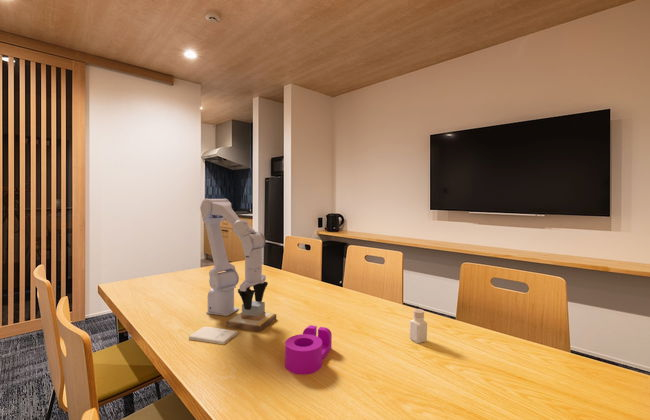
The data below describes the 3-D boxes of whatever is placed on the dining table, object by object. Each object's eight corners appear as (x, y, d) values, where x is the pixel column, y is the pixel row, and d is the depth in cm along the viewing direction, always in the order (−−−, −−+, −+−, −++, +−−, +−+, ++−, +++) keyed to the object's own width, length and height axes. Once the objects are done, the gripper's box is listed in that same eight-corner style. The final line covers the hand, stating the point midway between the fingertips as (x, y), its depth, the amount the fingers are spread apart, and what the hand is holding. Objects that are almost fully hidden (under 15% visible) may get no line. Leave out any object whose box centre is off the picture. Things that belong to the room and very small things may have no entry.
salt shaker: (417, 344, 98) (418, 314, 98) (408, 339, 102) (409, 309, 101) (427, 341, 100) (428, 311, 100) (418, 336, 104) (419, 307, 103)
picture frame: (226, 326, 110) (226, 321, 110) (245, 314, 121) (245, 309, 121) (260, 331, 106) (260, 325, 106) (276, 318, 118) (276, 313, 117)
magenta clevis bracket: (313, 378, 80) (314, 353, 80) (278, 370, 83) (278, 347, 83) (333, 349, 95) (334, 328, 95) (303, 344, 98) (303, 324, 98)
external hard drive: (205, 330, 108) (238, 335, 105) (188, 341, 100) (223, 346, 97) (204, 325, 108) (238, 330, 105) (188, 336, 100) (223, 341, 97)
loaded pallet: (241, 318, 112) (241, 304, 112) (248, 313, 117) (248, 300, 116) (259, 320, 110) (259, 306, 110) (265, 316, 115) (265, 302, 114)
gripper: (253, 273, 105) (253, 314, 105) (273, 264, 118) (272, 300, 119) (234, 271, 107) (234, 311, 107) (256, 262, 120) (255, 298, 121)
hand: (253, 305), depth 113 cm, fingers open, 7 cm apart
